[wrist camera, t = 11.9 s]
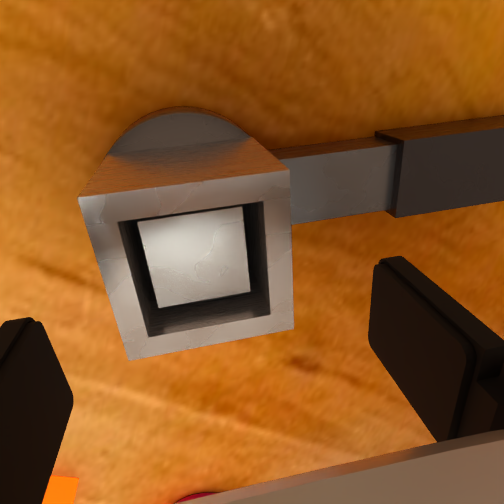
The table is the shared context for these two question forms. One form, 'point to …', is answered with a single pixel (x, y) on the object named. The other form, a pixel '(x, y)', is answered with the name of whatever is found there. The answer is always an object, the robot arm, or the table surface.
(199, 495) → the pepper mill
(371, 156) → the ratchet
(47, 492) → the orange juice
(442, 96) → the table surface
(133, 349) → the socket
